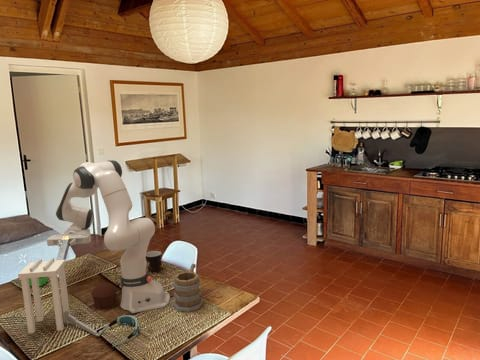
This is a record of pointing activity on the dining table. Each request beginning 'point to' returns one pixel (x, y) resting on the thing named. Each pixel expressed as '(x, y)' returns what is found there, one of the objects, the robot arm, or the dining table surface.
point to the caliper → (77, 323)
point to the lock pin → (63, 250)
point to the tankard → (187, 291)
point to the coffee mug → (153, 261)
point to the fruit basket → (41, 281)
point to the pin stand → (34, 272)
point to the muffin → (104, 295)
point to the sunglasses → (123, 319)
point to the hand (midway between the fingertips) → (64, 244)
